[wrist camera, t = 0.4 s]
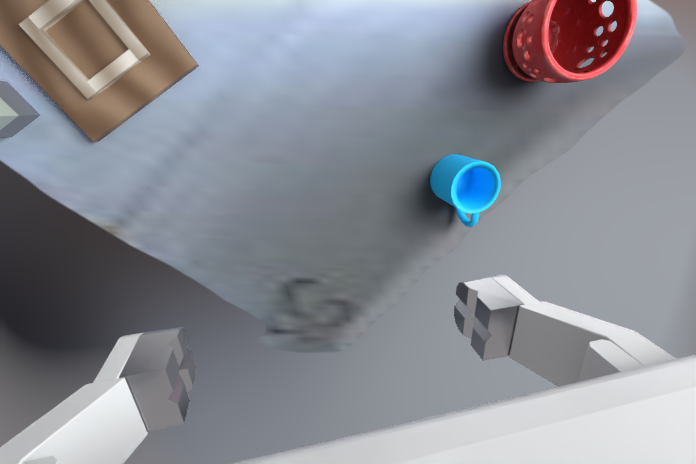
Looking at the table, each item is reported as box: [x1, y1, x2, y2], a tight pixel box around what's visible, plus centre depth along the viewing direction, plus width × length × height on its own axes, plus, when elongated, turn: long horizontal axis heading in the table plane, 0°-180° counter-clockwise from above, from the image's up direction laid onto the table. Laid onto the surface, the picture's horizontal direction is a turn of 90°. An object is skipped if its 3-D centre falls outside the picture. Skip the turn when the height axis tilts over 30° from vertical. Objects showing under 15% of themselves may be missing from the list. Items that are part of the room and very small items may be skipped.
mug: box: [430, 154, 501, 227], centre depth 57 cm, size 12×8×8 cm
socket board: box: [0, 0, 199, 142], centre depth 44 cm, size 18×18×3 cm
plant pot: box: [503, 0, 637, 83], centre depth 49 cm, size 13×13×12 cm
